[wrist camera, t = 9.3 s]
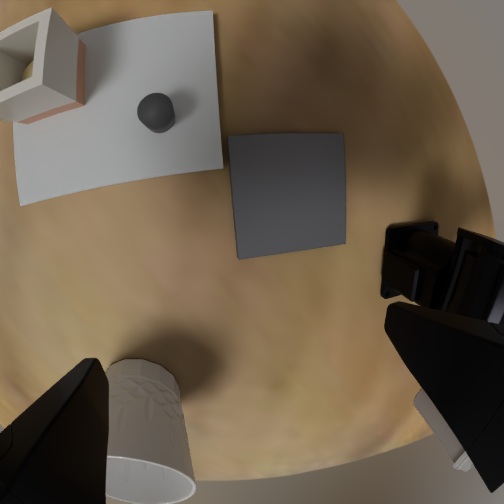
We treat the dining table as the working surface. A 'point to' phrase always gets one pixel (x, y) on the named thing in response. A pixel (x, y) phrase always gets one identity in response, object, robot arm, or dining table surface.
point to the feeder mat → (287, 192)
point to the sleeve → (40, 68)
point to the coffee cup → (442, 431)
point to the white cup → (146, 436)
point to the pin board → (129, 110)
